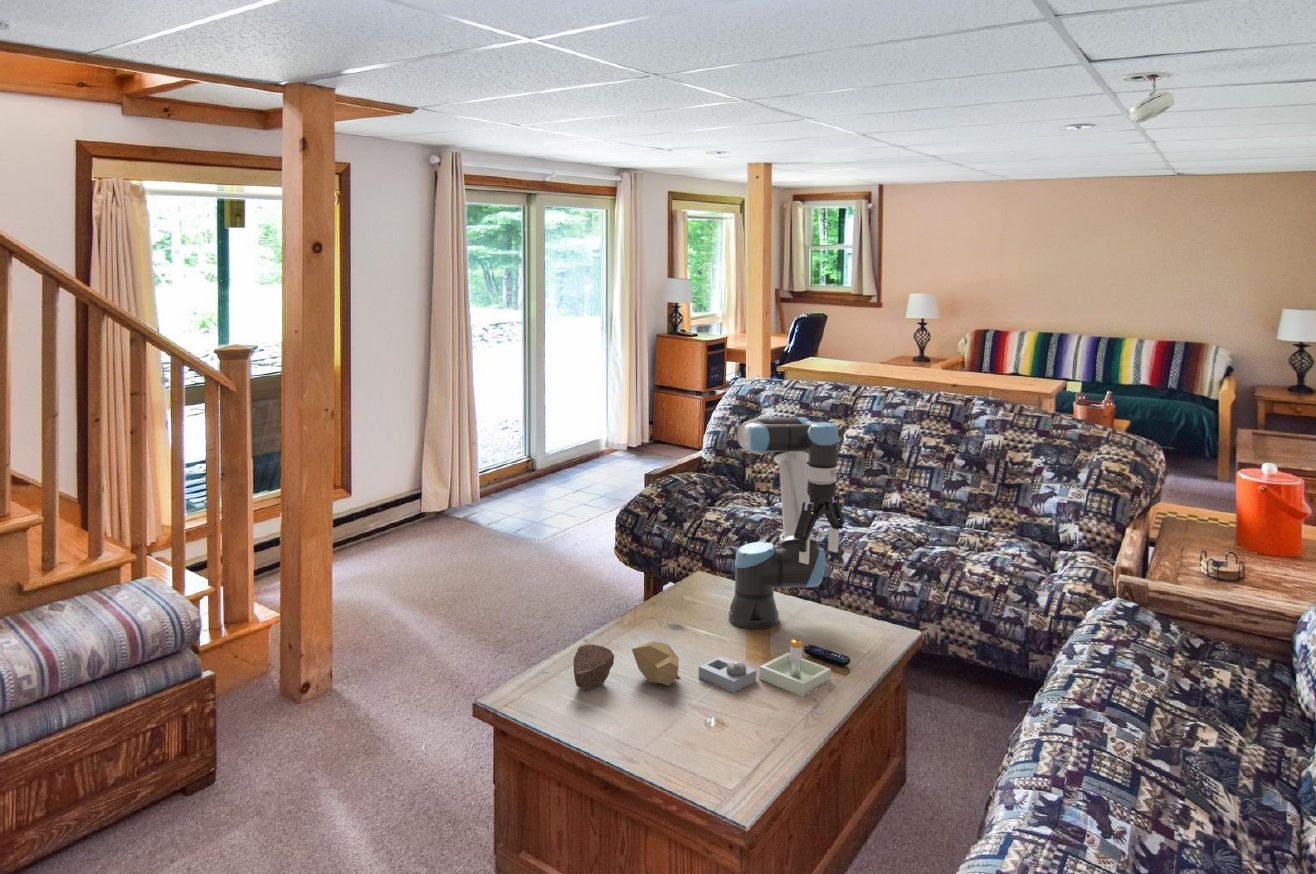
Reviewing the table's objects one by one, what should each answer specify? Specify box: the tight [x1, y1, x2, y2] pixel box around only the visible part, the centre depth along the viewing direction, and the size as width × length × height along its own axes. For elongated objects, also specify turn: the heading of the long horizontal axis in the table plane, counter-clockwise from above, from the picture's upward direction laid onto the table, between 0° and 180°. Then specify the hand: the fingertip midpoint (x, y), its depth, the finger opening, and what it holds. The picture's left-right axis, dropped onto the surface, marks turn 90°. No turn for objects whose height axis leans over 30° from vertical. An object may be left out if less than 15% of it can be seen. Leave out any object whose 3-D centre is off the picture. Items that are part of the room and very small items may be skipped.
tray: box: [759, 652, 832, 697], centre depth 245 cm, size 14×12×4 cm
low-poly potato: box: [631, 641, 681, 686], centre depth 243 cm, size 15×11×12 cm
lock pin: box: [789, 638, 803, 680], centre depth 244 cm, size 3×3×10 cm
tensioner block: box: [698, 655, 757, 693], centre depth 245 cm, size 12×9×6 cm
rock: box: [573, 644, 615, 692], centre depth 241 cm, size 12×10×10 cm
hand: (818, 557), depth 254 cm, fingers open, 13 cm apart
